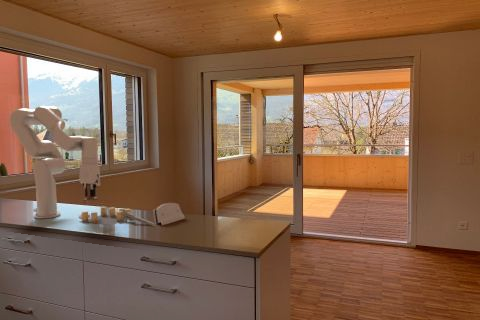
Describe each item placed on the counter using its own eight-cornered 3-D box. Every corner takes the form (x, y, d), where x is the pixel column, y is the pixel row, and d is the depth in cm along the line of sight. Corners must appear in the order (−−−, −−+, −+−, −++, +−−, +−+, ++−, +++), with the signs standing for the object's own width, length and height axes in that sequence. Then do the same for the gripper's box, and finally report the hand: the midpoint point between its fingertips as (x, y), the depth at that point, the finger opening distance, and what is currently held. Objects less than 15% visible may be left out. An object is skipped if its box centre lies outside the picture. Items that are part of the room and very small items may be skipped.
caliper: (121, 221, 180) (121, 209, 179) (122, 221, 181) (122, 209, 180) (155, 226, 172) (155, 214, 171) (156, 226, 173) (156, 213, 172)
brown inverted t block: (83, 202, 184) (83, 184, 183) (93, 200, 190) (93, 183, 190) (87, 202, 183) (87, 185, 182) (97, 200, 189) (97, 183, 188)
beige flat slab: (161, 225, 173) (156, 205, 174) (155, 227, 176) (150, 207, 177) (185, 218, 187) (180, 199, 188) (179, 220, 190) (174, 201, 191)
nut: (76, 219, 187) (76, 215, 187) (85, 217, 193) (84, 213, 192) (84, 220, 185) (83, 216, 185) (92, 217, 191) (92, 214, 191)
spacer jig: (78, 223, 179) (77, 213, 178) (104, 215, 195) (103, 206, 195) (110, 226, 171) (109, 216, 171) (134, 218, 188) (134, 208, 188)
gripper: (72, 160, 184) (72, 196, 185) (96, 162, 178) (97, 199, 180) (83, 159, 191) (84, 193, 192) (107, 161, 185) (107, 196, 187)
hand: (90, 196), depth 186 cm, fingers closed on brown inverted t block, 2 cm apart
